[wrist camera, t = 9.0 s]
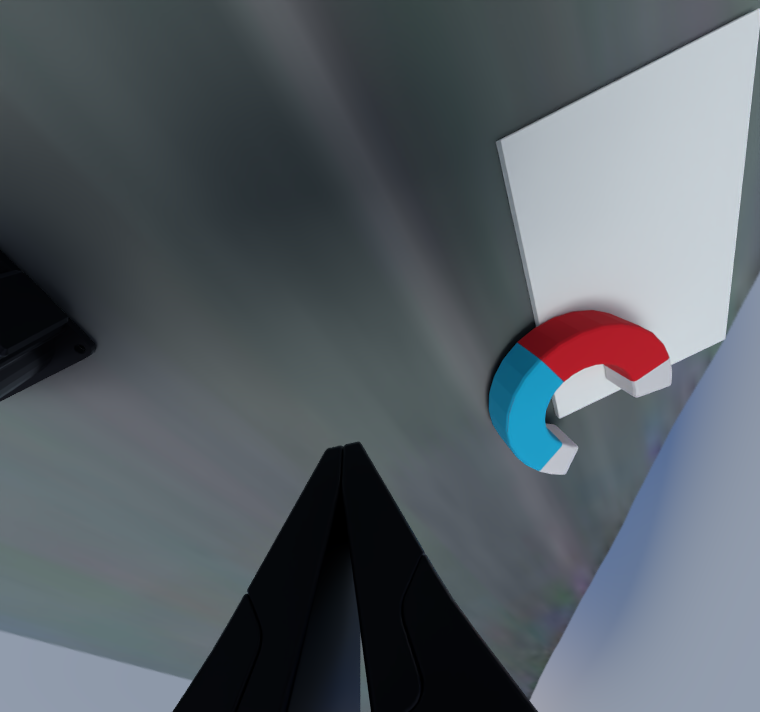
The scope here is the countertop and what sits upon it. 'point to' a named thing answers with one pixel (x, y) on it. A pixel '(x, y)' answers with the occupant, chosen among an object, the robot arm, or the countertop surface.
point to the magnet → (557, 364)
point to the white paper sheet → (638, 199)
